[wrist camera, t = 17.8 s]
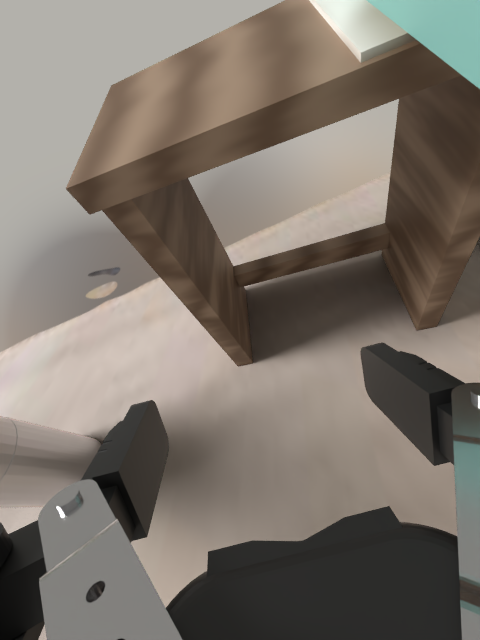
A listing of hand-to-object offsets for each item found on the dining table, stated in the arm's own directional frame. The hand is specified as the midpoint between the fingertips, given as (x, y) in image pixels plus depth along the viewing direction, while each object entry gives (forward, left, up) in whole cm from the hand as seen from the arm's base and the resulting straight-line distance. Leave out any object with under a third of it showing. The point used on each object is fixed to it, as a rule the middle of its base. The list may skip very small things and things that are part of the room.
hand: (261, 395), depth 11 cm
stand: (-7, +21, -28) cm, 36 cm away
